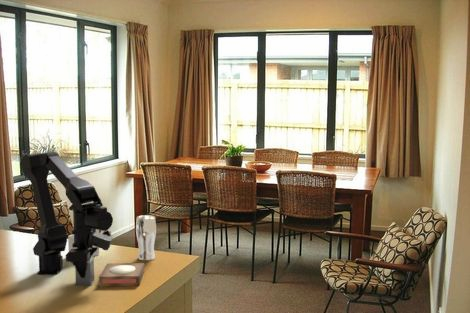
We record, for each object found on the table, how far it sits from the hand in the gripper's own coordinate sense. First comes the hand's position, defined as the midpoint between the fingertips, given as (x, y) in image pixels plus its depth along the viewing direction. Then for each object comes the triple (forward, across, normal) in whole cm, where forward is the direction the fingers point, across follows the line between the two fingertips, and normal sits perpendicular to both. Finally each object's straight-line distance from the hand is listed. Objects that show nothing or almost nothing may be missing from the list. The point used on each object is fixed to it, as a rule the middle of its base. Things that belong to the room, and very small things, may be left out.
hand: (85, 274), depth 153 cm
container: (+3, +27, +7) cm, 28 cm away
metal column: (+2, 0, 0) cm, 2 cm away
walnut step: (+2, +3, -11) cm, 12 cm away
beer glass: (+3, +23, -16) cm, 28 cm away
